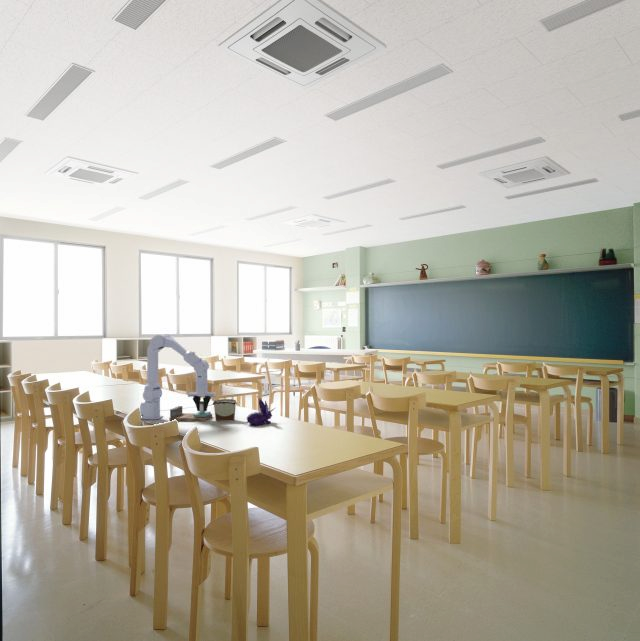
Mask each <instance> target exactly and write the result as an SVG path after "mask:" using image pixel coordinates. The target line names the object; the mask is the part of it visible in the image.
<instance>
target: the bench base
mask: <svg viewBox="0 0 640 641" xmlns="http://www.w3.org/2000/svg"><path fill="white" fill-rule="evenodd" d="M193 414H196V412H195V413H190V412H186V413H183V406H182V405H178V406H175V407H174V408H173V407H172V408H170V409H169V417H168V418H169V419H168V420H174V419H176V420H178V421H177V422H195V421H199V422H200V423H201V422H202V423H203V422H206V421H207V420H209V419H211V418H213V413H211V414H210V415H208V416H206V417H194V416H193Z"/></svg>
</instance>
